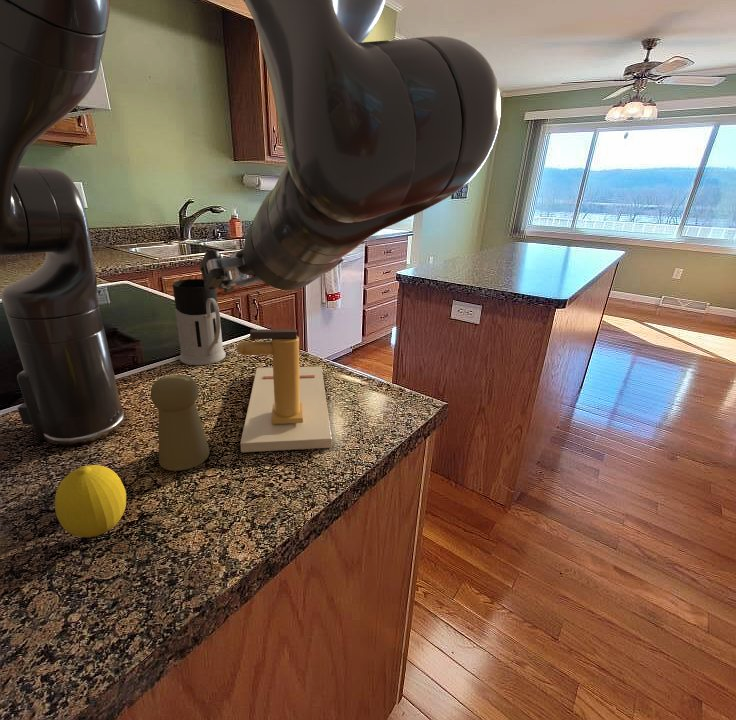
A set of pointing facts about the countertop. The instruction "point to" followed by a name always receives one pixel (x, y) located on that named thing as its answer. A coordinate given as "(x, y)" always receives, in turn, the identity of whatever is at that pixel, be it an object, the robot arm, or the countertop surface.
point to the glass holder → (198, 323)
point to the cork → (179, 423)
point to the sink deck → (288, 435)
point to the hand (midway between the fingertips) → (260, 278)
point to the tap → (280, 370)
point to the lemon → (90, 501)
